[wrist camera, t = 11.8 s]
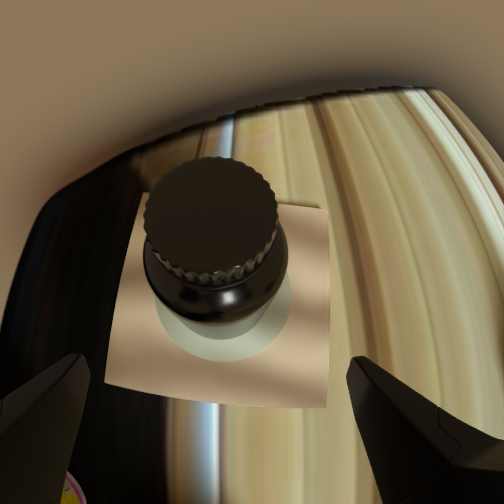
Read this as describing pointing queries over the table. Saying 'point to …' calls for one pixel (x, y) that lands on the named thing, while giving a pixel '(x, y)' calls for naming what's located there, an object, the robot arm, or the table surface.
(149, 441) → the table surface
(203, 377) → the board
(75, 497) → the supplement bottle
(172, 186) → the supplement bottle
